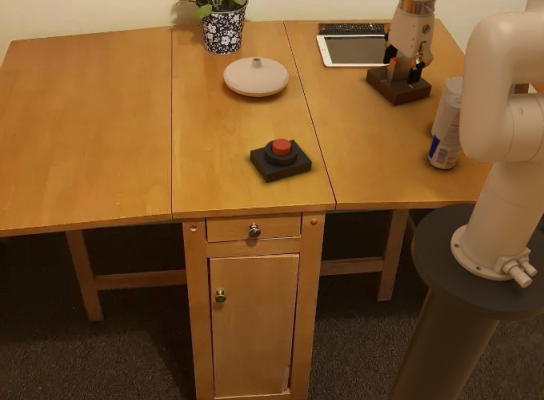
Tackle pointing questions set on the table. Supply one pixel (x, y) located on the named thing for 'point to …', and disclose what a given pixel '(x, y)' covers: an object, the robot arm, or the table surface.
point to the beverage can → (447, 134)
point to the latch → (399, 68)
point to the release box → (280, 162)
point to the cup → (450, 87)
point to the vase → (256, 76)
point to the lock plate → (397, 86)
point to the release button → (281, 147)
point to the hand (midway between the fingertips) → (400, 72)
